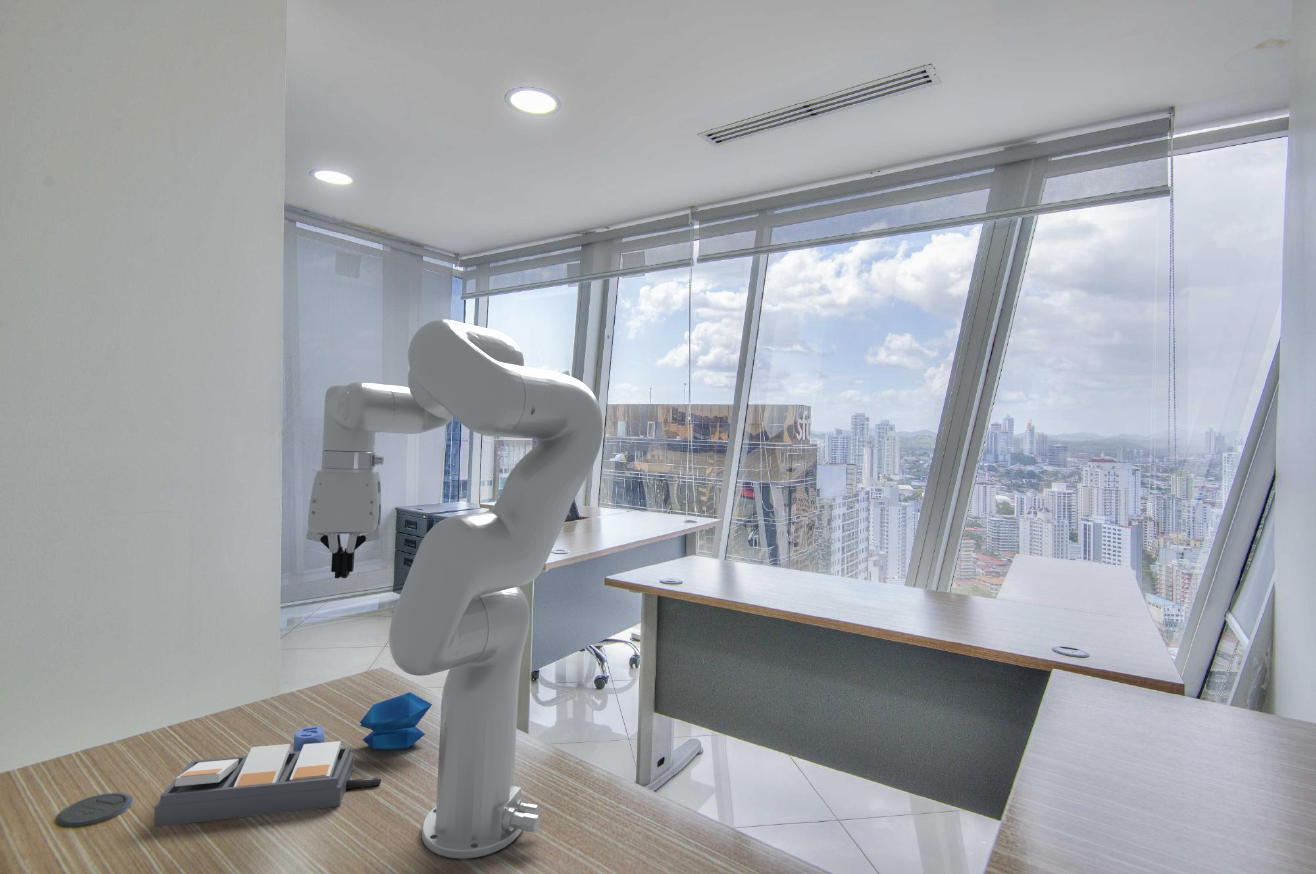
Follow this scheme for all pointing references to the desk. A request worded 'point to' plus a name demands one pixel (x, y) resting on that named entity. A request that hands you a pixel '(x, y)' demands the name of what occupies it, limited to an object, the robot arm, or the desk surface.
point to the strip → (256, 793)
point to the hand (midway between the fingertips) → (342, 576)
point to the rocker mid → (263, 765)
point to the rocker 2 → (316, 761)
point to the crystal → (395, 722)
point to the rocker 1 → (207, 772)
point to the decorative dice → (308, 737)
